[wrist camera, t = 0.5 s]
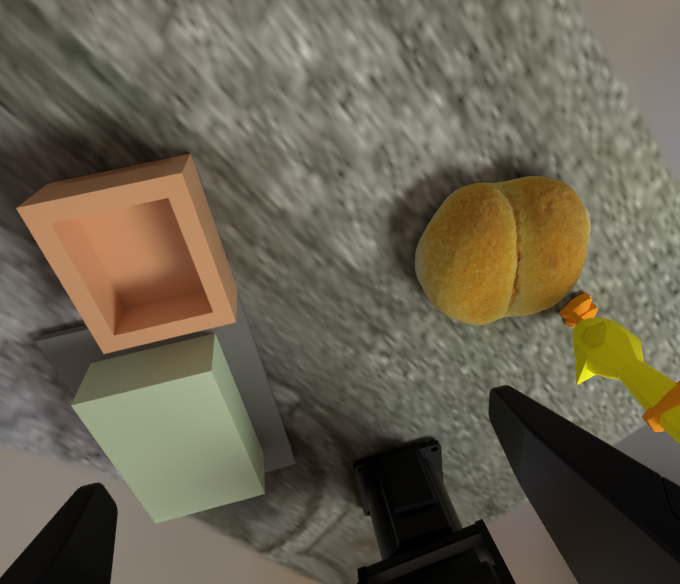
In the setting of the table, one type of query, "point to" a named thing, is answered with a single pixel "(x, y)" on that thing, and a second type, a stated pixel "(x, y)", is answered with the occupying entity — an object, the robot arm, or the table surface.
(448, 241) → the bread roll
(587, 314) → the toy figure
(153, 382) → the lid
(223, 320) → the dish
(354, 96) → the table surface
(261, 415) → the mat
